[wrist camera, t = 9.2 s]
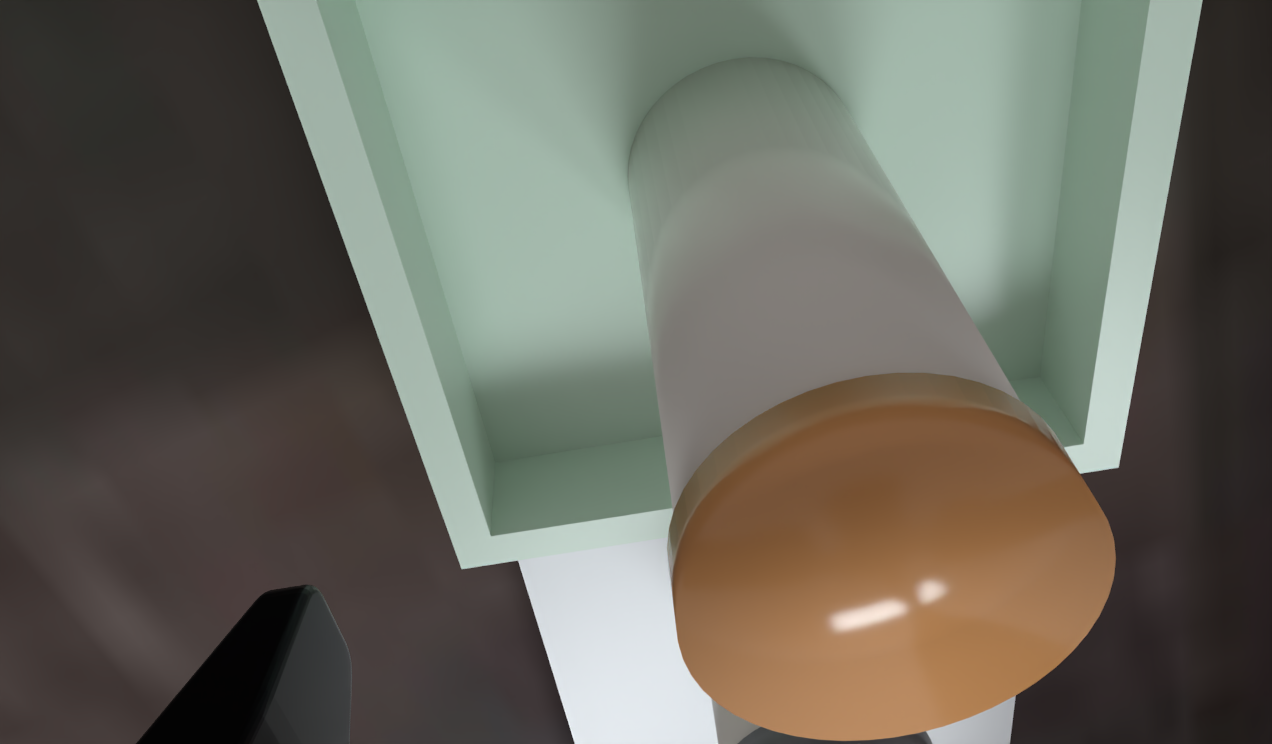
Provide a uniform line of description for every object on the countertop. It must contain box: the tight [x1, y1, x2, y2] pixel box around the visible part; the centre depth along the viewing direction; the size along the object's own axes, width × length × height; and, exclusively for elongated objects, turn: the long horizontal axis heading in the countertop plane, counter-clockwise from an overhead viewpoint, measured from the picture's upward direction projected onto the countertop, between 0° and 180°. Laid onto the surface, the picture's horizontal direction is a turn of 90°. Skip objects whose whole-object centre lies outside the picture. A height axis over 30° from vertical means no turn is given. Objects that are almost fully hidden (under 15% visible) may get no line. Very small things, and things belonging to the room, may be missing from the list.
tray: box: [257, 0, 1203, 569], centre depth 14 cm, size 10×10×2 cm
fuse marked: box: [628, 57, 1116, 741], centre depth 11 cm, size 3×3×8 cm
